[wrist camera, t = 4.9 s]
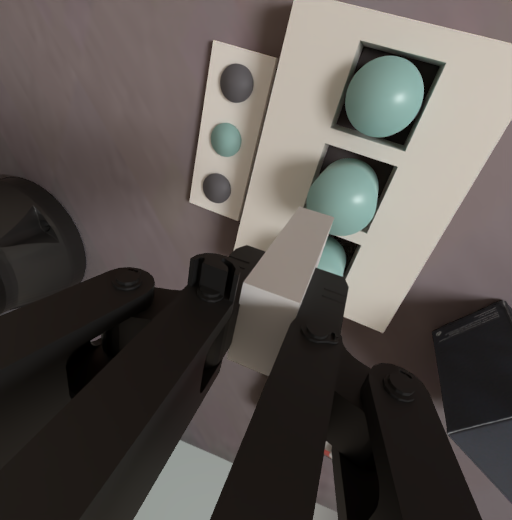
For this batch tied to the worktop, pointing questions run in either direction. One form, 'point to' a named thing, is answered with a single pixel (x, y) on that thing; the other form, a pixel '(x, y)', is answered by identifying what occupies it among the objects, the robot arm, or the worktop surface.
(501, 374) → the small box
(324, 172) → the button
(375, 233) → the board
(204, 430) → the worktop surface
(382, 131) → the button
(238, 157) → the pattern card
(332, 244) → the button
